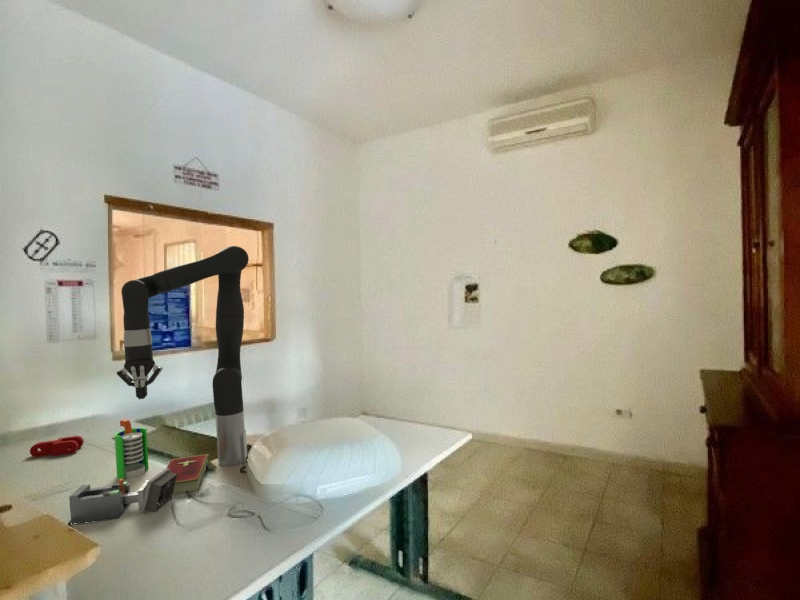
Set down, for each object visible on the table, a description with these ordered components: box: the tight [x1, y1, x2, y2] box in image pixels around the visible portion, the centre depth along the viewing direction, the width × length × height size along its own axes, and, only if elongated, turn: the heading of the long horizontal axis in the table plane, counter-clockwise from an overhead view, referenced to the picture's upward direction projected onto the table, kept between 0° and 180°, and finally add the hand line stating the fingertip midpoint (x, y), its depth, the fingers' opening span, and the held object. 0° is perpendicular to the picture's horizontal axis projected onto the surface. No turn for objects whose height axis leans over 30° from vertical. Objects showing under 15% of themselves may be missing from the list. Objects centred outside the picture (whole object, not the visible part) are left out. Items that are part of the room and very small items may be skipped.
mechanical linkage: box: [29, 435, 85, 458], centre depth 169 cm, size 16×7×5 cm, turn 108°
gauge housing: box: [67, 481, 132, 527], centre depth 120 cm, size 12×10×7 cm
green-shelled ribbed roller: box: [114, 418, 149, 481], centre depth 146 cm, size 9×8×18 cm
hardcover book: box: [166, 453, 209, 495], centre depth 139 cm, size 12×21×4 cm, turn 16°
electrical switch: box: [140, 467, 177, 514], centre depth 122 cm, size 9×5×9 cm, turn 177°
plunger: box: [118, 479, 150, 512], centre depth 121 cm, size 13×7×8 cm, turn 103°
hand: (141, 398), depth 137 cm, fingers closed
